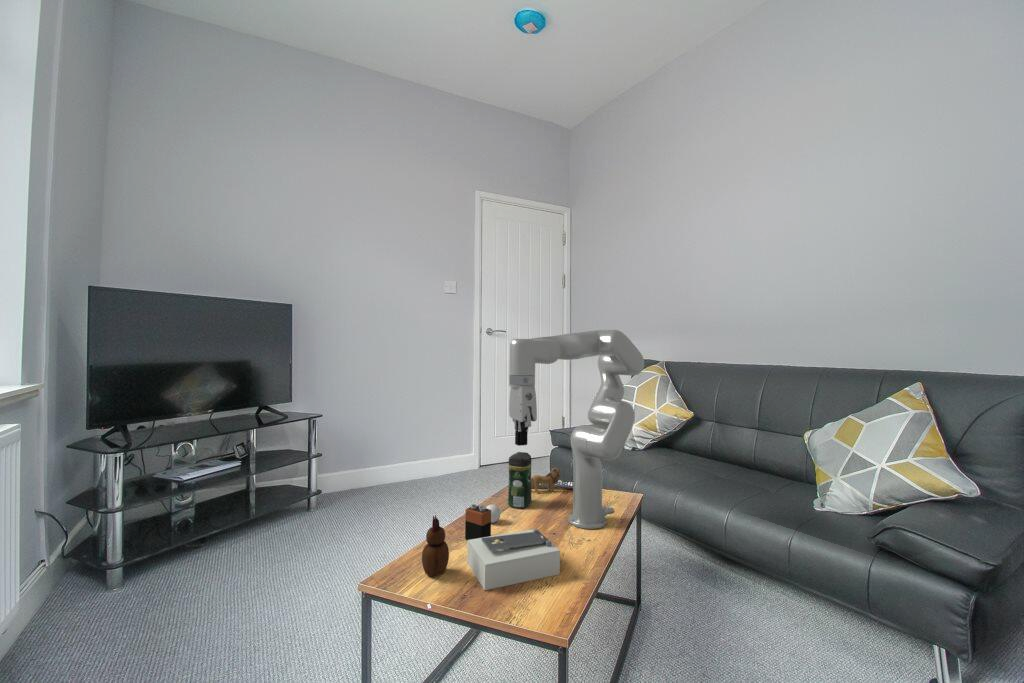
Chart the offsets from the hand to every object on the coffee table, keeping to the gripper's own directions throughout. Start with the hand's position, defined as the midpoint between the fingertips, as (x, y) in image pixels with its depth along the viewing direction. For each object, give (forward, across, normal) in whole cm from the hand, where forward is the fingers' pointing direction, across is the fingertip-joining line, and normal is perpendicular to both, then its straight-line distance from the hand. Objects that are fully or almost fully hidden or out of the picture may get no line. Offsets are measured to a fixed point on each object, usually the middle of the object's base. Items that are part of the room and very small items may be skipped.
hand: (521, 444), depth 125 cm
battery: (+29, +8, +10) cm, 32 cm away
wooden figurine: (+29, -6, +26) cm, 40 cm away
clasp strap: (+23, -11, +6) cm, 26 cm away
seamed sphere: (+29, +18, +2) cm, 35 cm away
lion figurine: (+29, +40, -29) cm, 57 cm away
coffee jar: (+29, +30, -13) cm, 44 cm away
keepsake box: (+29, -11, +7) cm, 32 cm away
